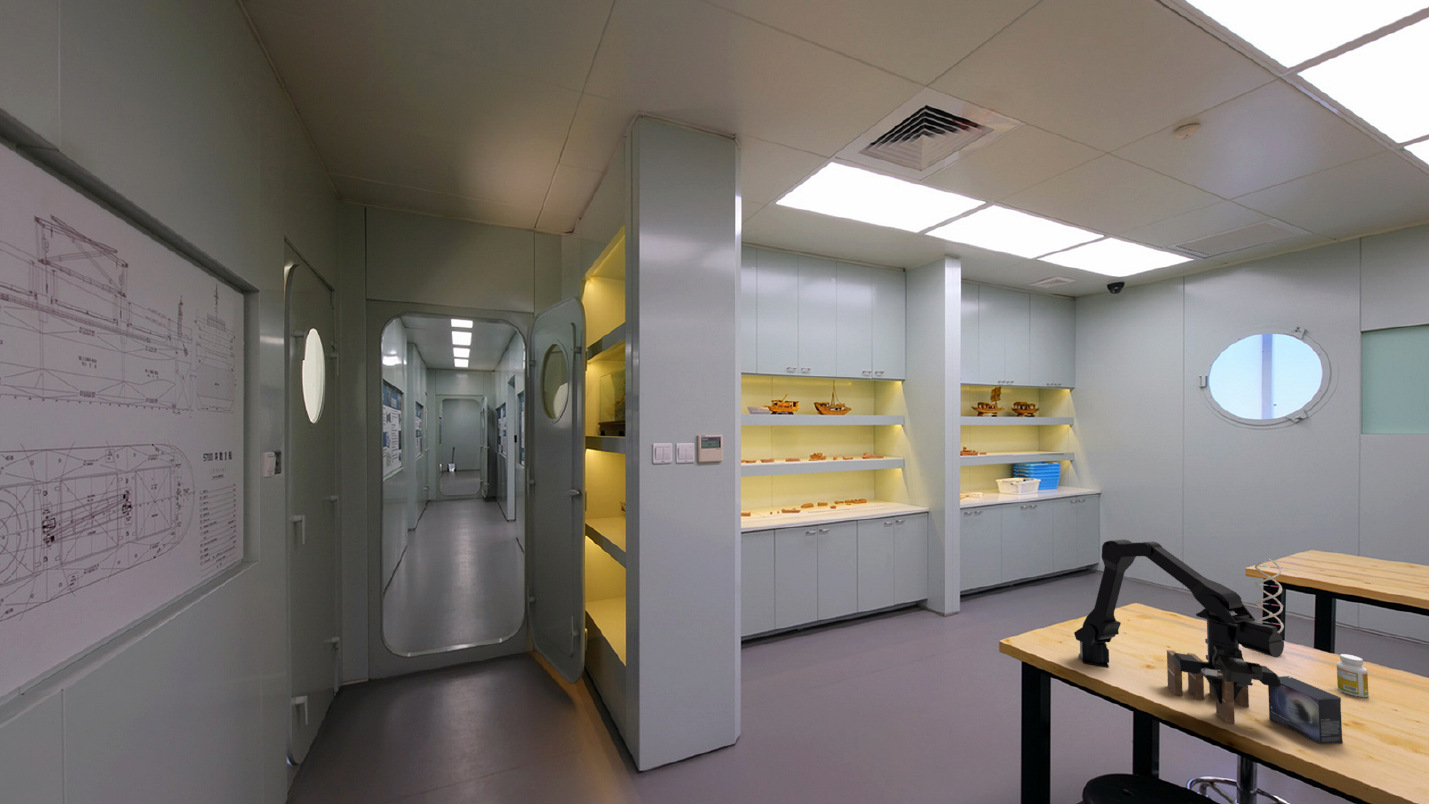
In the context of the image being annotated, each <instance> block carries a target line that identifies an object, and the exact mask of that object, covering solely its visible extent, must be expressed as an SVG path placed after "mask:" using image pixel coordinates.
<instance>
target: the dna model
mask: <svg viewBox="0 0 1429 804" xmlns="http://www.w3.org/2000/svg"><path fill="white" fill-rule="evenodd" d="M1268 560H1269V561H1270V562H1272V563H1273V564H1274V565H1275V566H1276V567H1275V566H1270V567H1269V568H1270V569H1277V570H1278V572H1277V574H1275V575H1273V576H1271V575H1268V574H1267V573H1265V572H1263V571H1262V570H1261V568H1268V566H1267V565H1262V564H1265V563H1267V560H1264V561H1260V562H1257V563H1256V564H1255V565H1254V569H1255V570H1256V571H1258V572H1259V573H1260V574H1263V575H1264V576H1266V577H1267V578H1265V579H1262V580H1259V581H1257V582H1254V585H1255V587H1256V588H1257V590H1260V591H1261V592H1262V593H1265V594H1266V595H1268V596H1267V597H1265V598H1262V599H1258V600H1257V601H1255V605H1256V606H1257V607H1259V608H1260V609H1262V610H1263V611H1265V612H1266V613H1268V614H1269V615H1267V616H1264V617H1261V618H1258V619H1257V620H1256V623H1260V624H1261V623H1262V624H1270V622H1268V621H1264V620H1267V619H1269V618H1275V619H1276V620H1277V621H1278V623H1276V622H1275V623H1274V622H1271V625H1276V626H1277V625H1279V626H1280V629H1279V630H1277V633H1279V634H1281V632H1283V630H1284V627H1285V625H1284V623H1283V622H1282V621H1281V619H1280V618H1279V617H1277V616H1278V615H1280V614H1281V613H1282V612H1283V610H1284V609H1283V608H1284V606H1285V605H1283V604H1282V603H1281V602H1280V600H1278V598H1276V597H1278V596H1279V595H1280V594H1282V592H1283V586H1282V585H1281V583H1279V582H1278V581H1277V580H1276V578H1277V577H1279V576H1280V575H1281V573H1282V568H1283V567H1281V566H1280V565H1279V564H1278V563H1277V561H1275V560H1272V559H1271V558H1269V557H1268ZM1258 567H1260V568H1258ZM1270 580H1272V581H1273V582H1274V584H1275V585H1270V587H1274V588H1278V590H1277V592H1275V594H1272V593H1269V592H1267V591H1266V590H1264V589H1262V588H1261V587H1260V586H1267V587H1268V586H1269V585H1268V584H1264V582H1268V581H1270ZM1270 599H1273V600H1275V601H1276V602H1277V604H1274V603H1273V604H1271V603H1266V602H1265V601H1268V600H1270ZM1270 604H1271V606H1275V607H1280V609H1279V610H1278V611H1276V613H1273V612H1272V611H1270V610H1267V609H1266V608H1264V607H1263V606H1262V605H1270Z"/></svg>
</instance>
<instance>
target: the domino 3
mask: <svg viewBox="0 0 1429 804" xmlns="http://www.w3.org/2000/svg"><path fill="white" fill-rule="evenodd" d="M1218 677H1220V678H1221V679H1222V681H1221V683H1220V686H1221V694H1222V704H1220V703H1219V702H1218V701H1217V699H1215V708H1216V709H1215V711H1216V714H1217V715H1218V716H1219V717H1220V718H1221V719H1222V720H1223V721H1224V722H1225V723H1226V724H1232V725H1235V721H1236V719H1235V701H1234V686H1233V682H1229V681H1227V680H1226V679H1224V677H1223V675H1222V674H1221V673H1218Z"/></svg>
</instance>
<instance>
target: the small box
mask: <svg viewBox="0 0 1429 804" xmlns="http://www.w3.org/2000/svg"><path fill="white" fill-rule="evenodd" d="M1279 679H1280V687H1275V686H1269V685H1267V690H1268V691H1267V693H1268V714H1269V716H1268V717H1269V718H1268V719H1270V720H1271V721H1273V722H1276V723H1277V724H1280V725H1282V726H1283V727H1285V728H1288V729H1290V730H1291V731H1293V732H1295V733H1297V734H1300V735H1302V736H1304V737H1306V738H1308V739H1309V740H1312V741H1314V742H1315V743H1318V744H1319V745H1324V744H1325V745H1326V744H1343V728H1342V727H1343V725H1342V724H1343V723H1342V707H1341V706H1342V705H1341V704H1342V698H1341V696H1338V695H1336V694H1333V693H1331V692H1328V691H1326V690H1323V689H1321V688H1319V687H1316V686H1314V685H1311V684H1309V683H1307V682H1304V681H1301V680H1299V679H1297V678H1294V677H1293V676H1290V675H1286V676H1285V675H1283V676H1279Z"/></svg>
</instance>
